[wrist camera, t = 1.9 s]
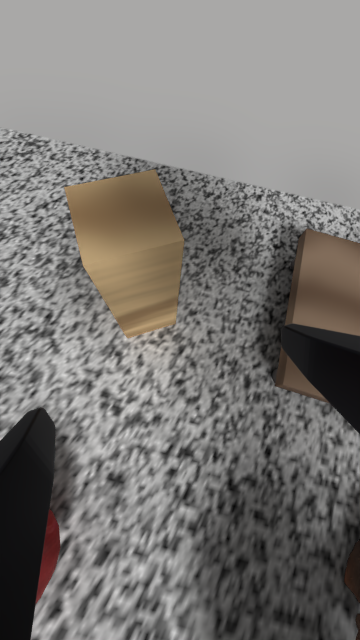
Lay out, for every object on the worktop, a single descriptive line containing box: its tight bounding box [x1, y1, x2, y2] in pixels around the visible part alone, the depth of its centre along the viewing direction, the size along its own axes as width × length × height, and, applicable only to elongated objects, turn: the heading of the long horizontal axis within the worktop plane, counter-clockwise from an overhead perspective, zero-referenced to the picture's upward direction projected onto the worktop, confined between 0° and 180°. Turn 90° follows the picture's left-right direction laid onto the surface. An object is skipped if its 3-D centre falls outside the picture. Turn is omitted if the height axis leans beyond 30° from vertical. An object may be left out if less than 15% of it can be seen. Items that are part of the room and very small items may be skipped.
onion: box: [36, 509, 60, 603], centre depth 14 cm, size 6×6×8 cm
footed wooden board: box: [272, 229, 360, 403], centre depth 23 cm, size 16×12×4 cm
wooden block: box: [64, 170, 184, 338], centre depth 18 cm, size 5×5×13 cm
